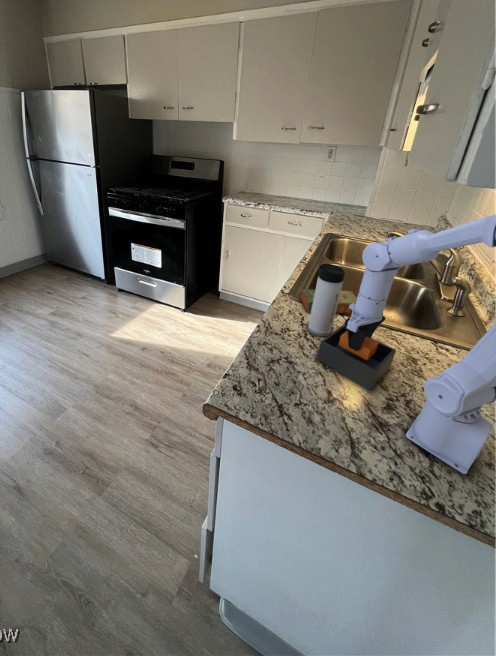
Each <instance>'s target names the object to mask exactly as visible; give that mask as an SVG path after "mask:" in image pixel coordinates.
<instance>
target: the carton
mask: <svg viewBox="0 0 496 656" xmlns="http://www.w3.org/2000/svg"><path fill="white" fill-rule="evenodd" d="M315 290H316V289H307V288H302V291H301V295H300V300H301V303H302V305H303V306H304V308H305V310H306V312H307V313H311V310H312V305H313V300H314V295H315ZM356 301H357V296H355V294H354V293H353V291H352V290H342V289H341V292H340V297H339V301H338V305H337V309H336V313H335V314H348V315H349V314H350V315H352V312H353V310H352V309H350V308H349V306H350V305H351V304H352V303H354V304H356Z"/></svg>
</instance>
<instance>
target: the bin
mask: <svg viewBox="0 0 496 656" xmlns="http://www.w3.org/2000/svg"><path fill="white" fill-rule="evenodd" d="M346 331H347V329H346V326H345V324H342V325H341V326H339V327H338V328H337V329H335V330H334V331H332V332H331V333H330V334H329V335H328V336H325V338H323V339H322V340H320V342H319V347H318V351H317V356H316V360H317V361H319V362H320V363H322V364H324V365H325V366H327V367H329V368H330V369H332V370H334V371H335V372H337V373H339V374H340V375H342V376H344V377H345V378H347V379H348V380H351V381H352V382H354V383H355V384H357V385H359V386H360V387H362V388H364V389H366V390H367V391H369V392H370V391H371V390H372V389H373V388H374V387H375V385H376V384H377V383H379V381H380V380H381V379H382V377H384V375H385V374H386V373H387V372H388V371H389V370H390V368H391V367H392V363H393V360H394V358H395V356H396V352H397V349H396V348H393V347H391V346H389V345H387V344H385V343H383V342H381V341H378V340H377V339H374V338H372V337H371V339H373V340H375V341H377V342H379V343H378V346H377V349H376V352H375V353H374V354H373V355H372V356H371V357H370V358H369V359H368V360H365V359H363V358H361V357H359V356H357V355H356V354H354V353H352V352H350V351H348V350H346V349H344V348H342V347H341V346H339V341H340V337H341V335H342V334H343V333H345V332H346Z"/></svg>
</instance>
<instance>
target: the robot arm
mask: <svg viewBox="0 0 496 656" xmlns="http://www.w3.org/2000/svg"><path fill="white" fill-rule="evenodd" d="M407 233H408V234H405V235H401V236H398V237H396V236H391V237H388V238H387V241H383V242H371V243H370V244H368V245H366V246H365V248H364V249H363V251H362V257H361V258H362V262H363V265H364V271H363V275H362V278H361V283H360V286H359V290H358V293H357V296H356V298H357V301H356V304H354V303H352V304H351V305H350V306H349V308H350V309H352V310H353V312H352V314H351V316H350V317H348V318H346V319H345V320H344V325H345V326H346V329H347V332H348V346H349V348H351V349H353V350H355V351H358V350H359V348H360V347H361V345H362V343H363V341H364V339H365V338H366V336H367V337H369V338H372V336H373V334H374V333H375V331H376V330H377V329H378V327H379V326H380V325H381V324H382V323H384V322H385V321H386V317H385V316H384V311H385V307H386V305H387V301H388V298H389V295H390V292H391V288H392V286H393V282H394V280H395V277H396V276H397V275H398V272H399V270H400V269H401V268H403V267H407V266H412V265H416V264H417V265H418V264H420V263H421V264H422V263H426V262H431V261H434V260H436V258H438V256H439V254H440V252H441V251H446V250H451V249H457V248H461V247H465V246H471V245H476V244H481V243H483V244H485V245H486V246H487V247H488V248H496V214H493V215H488V216H484V217H480V218H478V219H475V220H471V221H469V222H465V223H462V224H460V225H456V226H454V227H450V228H446V229H444V230H441V231H438V232H436V233H435V232H432V231H430V230H427V229H420V228H412V229H410V230H408V231H407ZM423 392H424V396H425V398H426V400H425V402H424V404H423V407H422V409H421V411H420V413H419V414H418V415H417V417H415V419H414V421H413V423H412V424H411V426H410V427H409V429H408V431H407V432H406V434H405V437H406V438H407V439H408V440H410V441H411V442H412V443H414V444H416V445H418V446H419V447H421V448H422V449H424V451H426V452H428V453H429V454H431V455H433V456H435V457H436V458H438V459H439V460H441V461H442V462H444V463H445V464H447V465H449V466H450V467H452V468H453V469H454V470H456V471H458V472H460V474H462V475H467V474H468V472H469V470H470V468H471V466H472V465H473V463H474V462H475V460H478V458H479V456H480V454H481V452H482V449H483V447H484V445H485V443H486V442H487V440H488V437H489V436H490V433H491V431H492V429H493V423H492V422H490V421H489V420H487V419H486V418H485V417H483V416H482V415H481V413H482V408H483V406H484V405H490V404H492V403H494V402H496V322H495V323H494V324H493V325H492V326H490V328H489V329H488V330H487V331H486V332H485V334H483V336H482V337H481V338H480V339H479V340H478V341H477V342H476V343H475V344H474V346H472V348H471V349H470V350H469V351H468V352H467V353H466V354H465V356H464V357H463V358H461V360H459V361H457V362H456V363H454V364H453V365H451V366H449V367H448V368H446V369H445V370H443V372H442V373H441V374H439V375H437V376H432V377H429V378H428V379H427V380H426V381H425V383H424V385H423Z"/></svg>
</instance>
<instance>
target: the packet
mask: <svg viewBox="0 0 496 656" xmlns="http://www.w3.org/2000/svg"><path fill="white" fill-rule="evenodd" d="M371 338H372V337H371ZM371 338H369V337H367V336H366V338H365V339H364V341H363V343H362V345H361V347H360V348H359V350H358V351H355V350H353V349H351V348H349V346H348V332H347V331H346V332H345V333H343V334H342V335H341V337H340V341H339V346H341V347H342V348H344V349H346V350H348V351H350V352H352V353H354V354H356V355H357V356H359V357H361V358H363V359H365V360H368V359H369V358H370V357H371V356H372V355H373V354H374V353H375V352H376V349H377V346H378V343H379V342H380V341H379V342H377V341H378V340H376V339H374V338H372V339H371ZM373 339H374V340H373ZM375 340H376V341H375Z"/></svg>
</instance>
